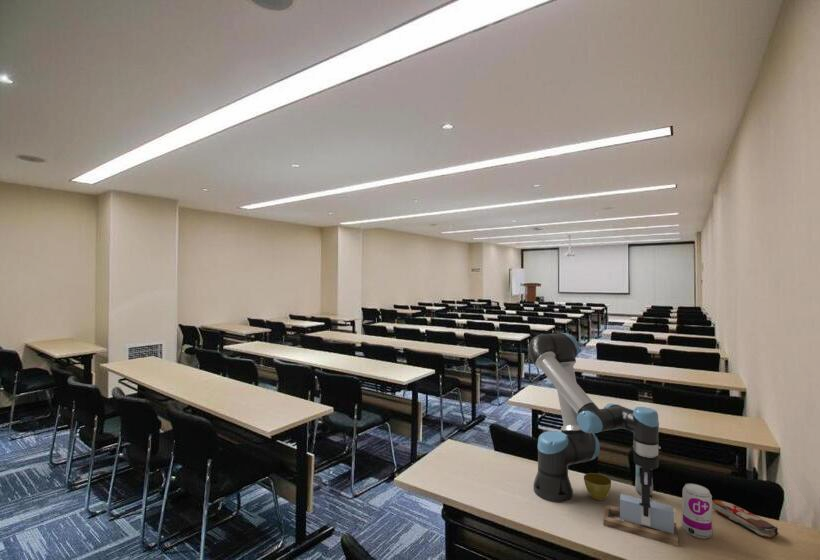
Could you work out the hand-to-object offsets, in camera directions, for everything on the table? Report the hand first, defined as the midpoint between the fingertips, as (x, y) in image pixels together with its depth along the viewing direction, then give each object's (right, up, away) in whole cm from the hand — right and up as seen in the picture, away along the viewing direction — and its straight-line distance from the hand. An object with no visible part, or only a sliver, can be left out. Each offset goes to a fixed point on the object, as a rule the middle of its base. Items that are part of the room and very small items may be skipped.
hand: (646, 520), depth 139 cm
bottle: (+13, -3, +24) cm, 27 cm away
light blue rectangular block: (0, -3, 0) cm, 3 cm away
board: (-2, -3, +1) cm, 4 cm away
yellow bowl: (-7, -3, +21) cm, 22 cm away
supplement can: (+16, -3, -2) cm, 17 cm away
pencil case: (+37, -4, +3) cm, 37 cm away
